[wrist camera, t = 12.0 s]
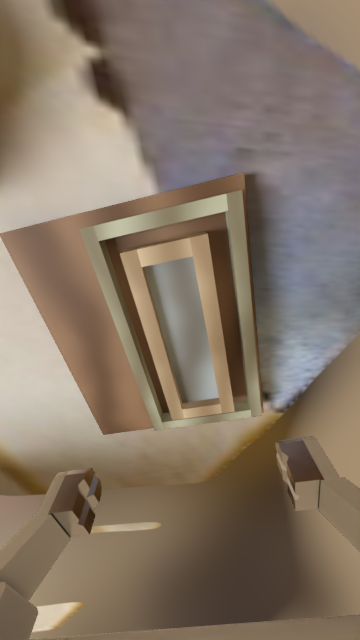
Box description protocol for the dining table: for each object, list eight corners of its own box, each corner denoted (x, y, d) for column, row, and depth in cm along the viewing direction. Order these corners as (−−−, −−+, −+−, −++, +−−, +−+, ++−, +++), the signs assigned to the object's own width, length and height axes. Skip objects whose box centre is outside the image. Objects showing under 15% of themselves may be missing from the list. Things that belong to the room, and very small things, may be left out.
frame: (173, 404, 24) (172, 420, 22) (126, 249, 17) (119, 253, 15) (230, 396, 23) (234, 411, 21) (205, 231, 16) (207, 233, 15)
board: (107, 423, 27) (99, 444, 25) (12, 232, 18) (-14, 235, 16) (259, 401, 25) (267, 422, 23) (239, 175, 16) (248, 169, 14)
